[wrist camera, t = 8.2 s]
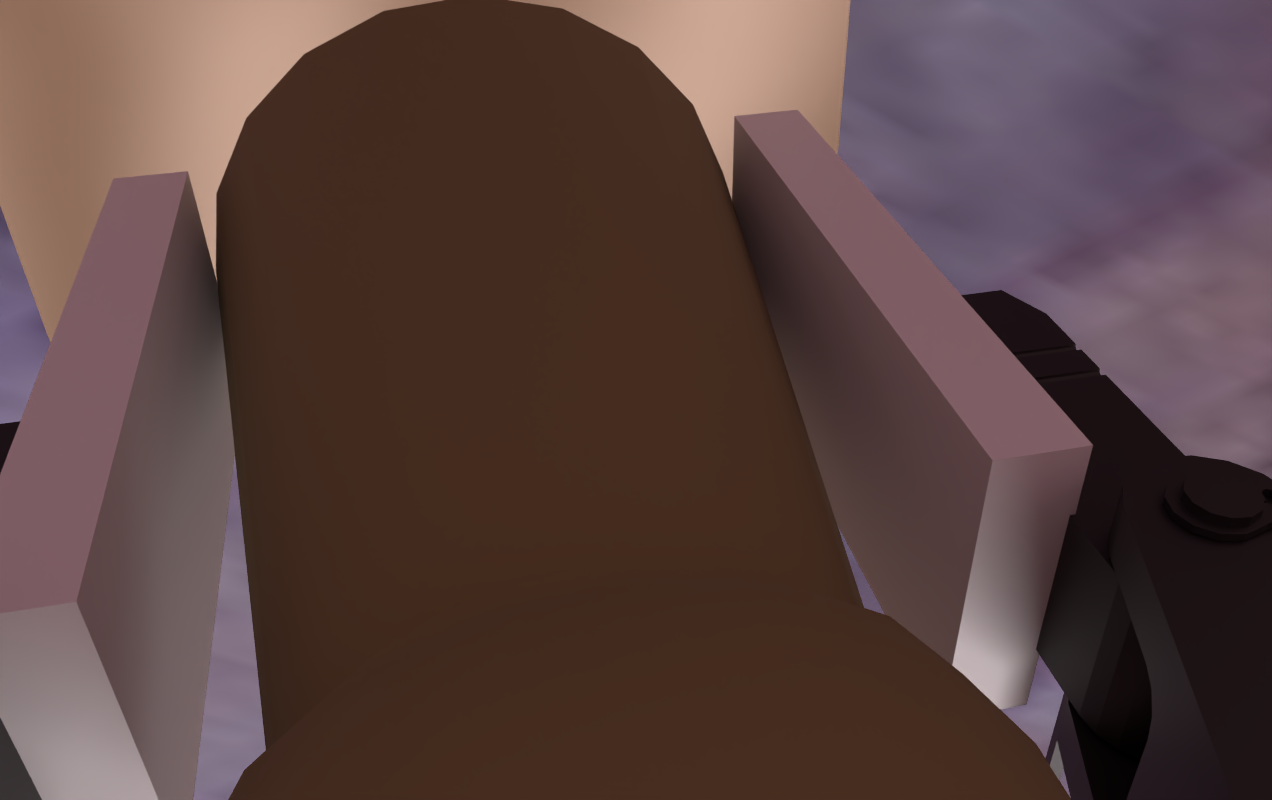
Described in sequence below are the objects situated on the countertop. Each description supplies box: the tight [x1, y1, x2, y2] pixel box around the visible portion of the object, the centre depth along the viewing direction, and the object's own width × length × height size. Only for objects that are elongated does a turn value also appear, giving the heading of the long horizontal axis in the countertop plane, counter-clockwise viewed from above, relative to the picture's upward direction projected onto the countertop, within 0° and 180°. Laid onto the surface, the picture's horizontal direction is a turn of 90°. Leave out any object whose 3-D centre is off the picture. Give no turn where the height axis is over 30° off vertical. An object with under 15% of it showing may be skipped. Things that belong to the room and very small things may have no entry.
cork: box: [216, 0, 1071, 800], centre depth 9 cm, size 6×6×11 cm
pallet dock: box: [0, 0, 850, 343], centre depth 20 cm, size 14×12×4 cm
